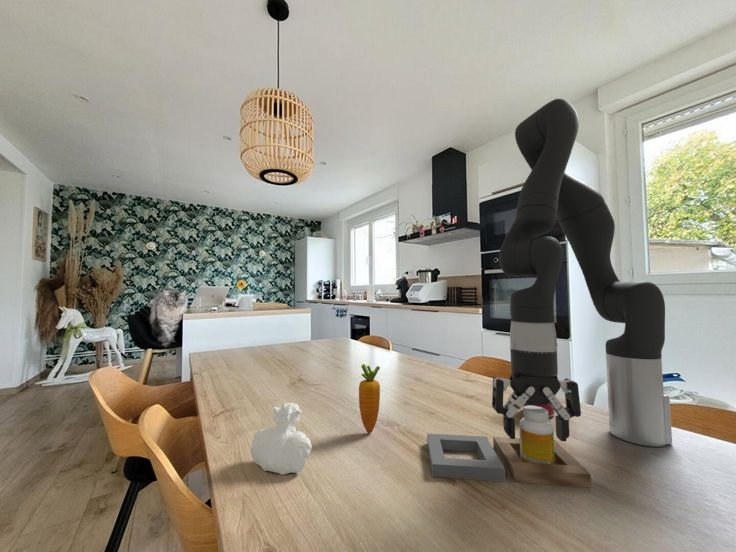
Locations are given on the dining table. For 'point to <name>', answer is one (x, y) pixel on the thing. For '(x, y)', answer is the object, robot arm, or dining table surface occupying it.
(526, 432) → the supplement bottle
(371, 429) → the carrot
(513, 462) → the socket
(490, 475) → the socket
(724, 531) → the dining table surface
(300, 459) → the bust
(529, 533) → the dining table surface
